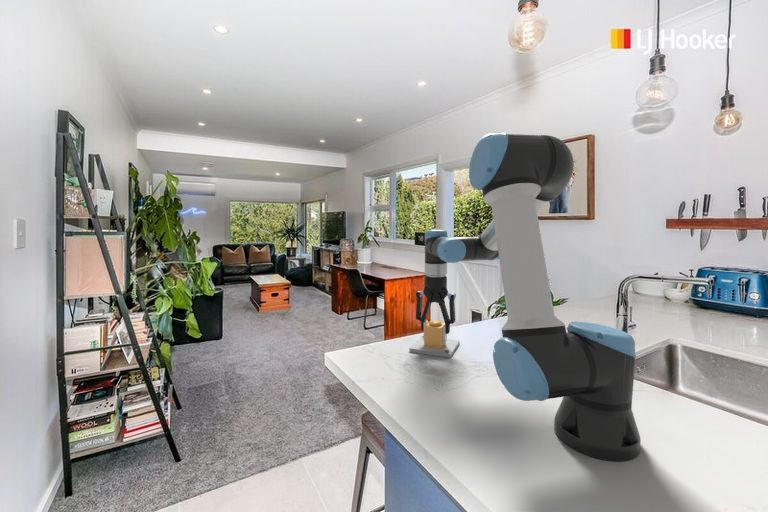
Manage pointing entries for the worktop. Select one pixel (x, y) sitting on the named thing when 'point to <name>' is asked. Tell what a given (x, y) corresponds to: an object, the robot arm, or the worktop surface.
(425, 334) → the single stud toy brick
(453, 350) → the plate
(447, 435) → the worktop surface
